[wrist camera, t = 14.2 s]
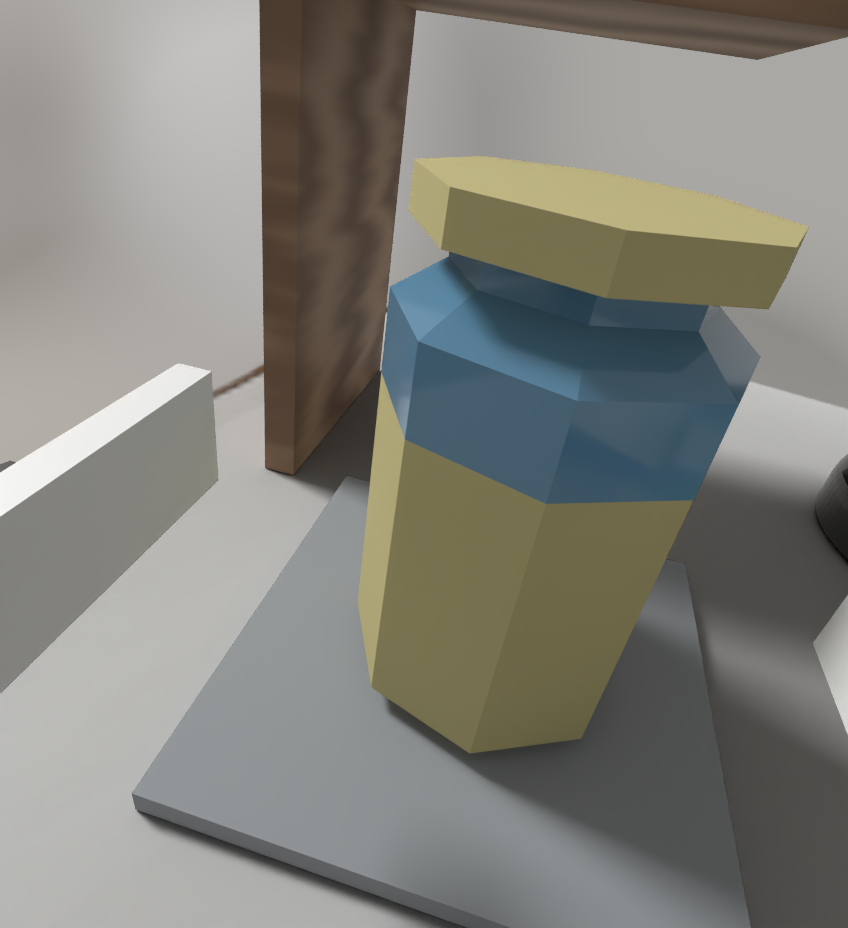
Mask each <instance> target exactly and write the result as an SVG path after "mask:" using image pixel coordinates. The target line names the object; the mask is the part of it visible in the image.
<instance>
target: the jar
mask: <svg viewBox="0 0 848 928" xmlns="http://www.w3.org/2000/svg"><path fill="white" fill-rule="evenodd" d="M409 212H410V213H411V215H412V216H413V217H414V218H415V219H416V220H417V222H418V223H419V224H420V225H421V226H422V227H423V229H424V230H425V231H426V232H427V233H428V235H429V236H430V237H431V238H432V239H433V240H434V241H435V243H436V244H437V245H438V246H439V247H440V249H443V250H445V251H449V257H447V258H445V259H443V260H441V261H439V262H437V263H435V264H433V265H431V266H430V267H427V268H426V269H423V270H422V271H420V272H418V273H416V274H414V275H412V276H410V277H408V278H406V279H404V280H402V281H400V282H398V283H396V284H394V285H392V286H391V287H390V294H389V304H388V313H387V323H386V333H385V342H384V352H383V362H382V371H381V381H380V391H379V400H378V410H377V420H376V429H375V439H374V449H373V458H372V468H371V478H370V487H369V497H368V507H367V516H366V526H365V536H364V545H363V555H362V565H361V574H360V584H359V594H358V608H359V614H360V621H361V627H362V633H363V639H364V646H365V652H366V658H367V664H368V670H369V677H370V683H371V688H373V689H374V690H376V691H377V692H379V693H380V694H382V695H383V696H385V697H386V698H388V699H389V700H391V701H392V702H394V703H395V704H397V705H398V706H400V707H401V708H403V709H404V710H406V711H407V712H409V713H410V714H412V715H413V716H415V717H416V718H418V719H419V720H421V721H422V722H424V723H425V724H427V725H428V726H429V727H431V728H432V729H434V730H435V731H437V732H438V733H440V734H441V735H443V736H444V737H446V738H447V739H449V740H450V741H452V742H453V743H455V744H456V745H458V746H459V747H461V748H462V749H464V750H465V751H467V752H468V753H477V752H485V751H492V750H500V749H508V748H515V747H523V746H531V745H538V744H546V743H553V742H561V741H569V740H576V739H581V738H582V736H583V734H584V732H585V730H586V728H587V726H588V723H589V721H590V719H591V717H592V715H593V713H594V711H595V709H596V706H597V704H598V702H599V700H600V698H601V696H602V694H603V692H604V689H605V687H606V685H607V683H608V681H609V679H610V677H611V675H612V672H613V670H614V668H615V666H616V664H617V662H618V660H619V658H620V656H621V653H622V651H623V649H624V647H625V645H626V643H627V641H628V639H629V636H630V634H631V632H632V630H633V628H634V626H635V624H636V622H637V619H638V617H639V615H640V613H641V611H642V609H643V607H644V605H645V602H646V600H647V598H648V596H649V594H650V592H651V590H652V588H653V585H654V583H655V581H656V579H657V577H658V575H659V573H660V571H661V569H662V566H663V564H664V562H665V560H666V558H667V556H668V554H669V552H670V549H671V547H672V545H673V543H674V541H675V539H676V537H677V535H678V532H679V530H680V528H681V526H682V524H683V522H684V520H685V518H686V515H687V513H688V511H689V509H690V507H691V505H692V503H693V501H694V498H695V496H696V494H697V492H698V490H699V488H700V486H701V484H702V481H703V479H704V477H705V475H706V473H707V471H708V469H709V467H710V465H711V462H712V460H713V458H714V456H715V454H716V452H717V450H718V448H719V445H720V443H721V441H722V439H723V437H724V435H725V433H726V431H727V428H728V426H729V424H730V422H731V420H732V418H733V416H734V414H735V411H736V409H737V407H738V405H739V403H740V401H741V399H742V396H743V394H744V392H745V390H746V388H747V386H748V383H749V381H750V379H751V377H752V375H753V373H754V370H755V368H756V366H757V364H758V362H759V359H760V356H759V354H758V353H757V352H756V351H755V349H754V348H753V347H752V346H751V344H750V343H749V342H748V341H747V339H746V338H745V337H744V336H743V335H742V333H741V332H740V331H739V330H738V328H737V327H736V326H735V325H734V324H733V322H732V321H731V320H730V319H729V317H728V316H727V315H726V313H725V312H724V311H723V310H722V309H721V307H720V306H727V307H742V308H756V309H769V308H770V306H771V304H772V302H773V300H774V299H775V297H776V295H777V293H778V291H779V289H780V287H781V286H782V284H783V282H784V280H785V278H786V276H787V274H788V272H789V270H790V267H791V265H792V263H793V261H794V259H795V257H796V254H797V252H798V250H799V248H800V246H801V243H802V241H803V239H804V237H805V235H806V233H807V230H808V228H809V227H808V226H804V225H802V224H799V223H796V222H793V221H790V220H787V219H784V218H781V217H778V216H775V215H772V214H768V213H766V212H763V211H760V210H757V209H754V208H751V207H748V206H745V205H742V204H739V203H736V202H733V201H730V200H727V199H724V198H721V197H718V196H714V195H710V194H705V193H700V192H695V191H690V190H685V189H681V188H676V187H671V186H667V185H662V184H657V183H652V182H648V181H643V180H638V179H633V178H628V177H624V176H619V175H614V174H610V173H605V172H600V171H595V170H588V169H580V168H572V167H564V166H556V165H548V164H540V163H532V162H525V161H517V160H509V159H501V158H493V157H485V156H475V157H453V158H452V157H451V158H426V159H414V166H413V176H412V184H411V193H410V201H409Z"/></svg>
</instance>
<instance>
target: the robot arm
mask: <svg viewBox="0 0 848 928" xmlns="http://www.w3.org/2000/svg"><path fill="white" fill-rule="evenodd" d="M217 481H218V467H217V451H216V435H215V419H214V403H213V387H212V372H211V371H207V370H203V369H199V368H195V367H191V366H187V365H183V364H179V363H178V364H176V365H175V366H173V367H171V368H170V369H168V370H166V371H165V372H163V373H162V374H160V375H158V376H157V377H155V378H153V379H152V380H150V381H149V382H147V383H145V384H144V385H142V386H141V387H139V388H137V389H135V390H134V391H132V392H130V393H129V394H127V395H126V396H124V397H122V398H121V399H119V400H118V401H116V402H114V403H113V404H111V405H110V406H108V407H106V408H105V409H103V410H101V411H100V412H98V413H96V414H95V415H93V416H92V417H90V418H88V419H87V420H85V421H83V422H82V423H80V424H78V425H77V426H75V427H74V428H72V429H70V430H69V431H67V432H65V433H64V434H62V435H60V436H59V437H57V438H56V439H54V440H52V441H51V442H49V443H48V444H46V445H44V446H42V447H41V448H39V449H38V450H36V451H35V452H33V453H31V454H29V455H28V456H26V457H25V458H23V459H21V460H20V461H18V462H12V461H9V462H5V463H3V464H0V693H1V692H2V691H4V690H5V689H6V688H7V687H8V686H9V685H10V684H11V683H12V682H13V681H14V680H15V679H16V678H17V677H18V676H19V675H20V674H21V673H22V672H23V671H24V670H25V669H26V668H27V667H28V666H29V665H30V664H31V663H32V662H33V661H34V660H35V659H36V658H37V657H38V656H39V655H40V654H41V653H42V652H43V651H44V650H45V649H46V648H47V647H48V646H49V645H50V644H51V643H53V642H54V641H55V640H56V639H57V638H58V637H59V636H60V635H61V634H62V633H63V632H64V631H65V630H66V629H67V628H68V627H69V626H70V625H71V624H72V623H73V622H74V621H75V620H76V619H77V618H78V617H79V616H80V615H81V614H82V613H83V612H84V611H85V610H86V609H87V608H88V607H89V606H90V605H91V604H92V603H93V602H94V601H95V600H96V599H97V598H98V597H99V596H101V595H102V594H103V593H104V592H105V591H106V590H107V589H108V588H109V587H110V586H111V585H112V584H113V583H114V582H115V581H116V580H117V579H118V578H119V577H120V576H121V575H122V574H123V573H124V572H125V571H126V570H127V569H128V568H129V567H130V566H131V565H132V564H133V563H134V562H135V561H136V560H137V559H138V558H139V557H140V556H141V555H142V554H143V553H144V552H145V551H146V550H147V549H148V548H150V547H151V546H152V545H153V544H154V543H155V542H156V541H157V540H158V539H159V538H160V537H161V536H162V535H163V534H164V533H165V532H166V531H167V530H168V529H169V528H170V527H171V526H172V525H173V524H174V523H175V522H176V521H177V520H178V519H179V518H180V517H181V516H182V515H183V514H184V513H185V512H186V511H187V510H188V509H189V508H190V507H191V506H192V505H193V504H194V503H195V502H196V501H198V500H199V499H200V498H201V497H202V496H203V495H204V494H205V493H206V492H207V491H208V490H209V489H210V488H211V487H212V486H213V485H214V484H215V483H216V482H217ZM815 508H816V514H817V517H818V520H819V522H820V524H821V526H822V528H823V530H824V531H825V533H826V534H827V536H828V537H829V539H830V540H831V541H832V543H833V544H834V545H835V546H836V548H837V549H838V550H839V551H840V552H841V553H842V554H843V555H844V556H845V557H846V558H847V559H848V454H847V455H846V456H845V457H844V458H843V459H842V460H841V461H840V462H839V463H838V464H837V465H836V466H835V468H834V469H833V471H832V473H831V474H830V476H829V477H828V479H827V481H826V482H825V484H824V486H823V487H822V489H821V491H820V492H819V494H818V496H817V498H816V504H815ZM813 645H814V648H815V651H816V653H817V656H818V658H819V661H820V664H821V666H822V669H823V671H824V674H825V677H826V679H827V682H828V685H829V687H830V690H831V692H832V695H833V698H834V700H835V703H836V705H837V708H838V711H839V713H840V716H841V718H842V721H843V724H844V726H845V729H846V732H847V734H848V595H847V596H846V598H845V599H844V601H843V602H842V603H841V605H840V606H839V608H838V609H837V610H836V612H835V613H834V614H833V616H832V617H831V619H830V620H829V621H828V623H827V624H826V625H825V627H824V628H823V630H822V631H821V632H820V634H819V635H818V637H817V638H816V639H815V641H814V642H813Z"/></svg>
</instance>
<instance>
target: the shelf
mask: <svg viewBox="0 0 848 928" xmlns="http://www.w3.org/2000/svg"><path fill="white" fill-rule="evenodd" d="M259 1H260V77H261V78H260V81H261V155H262V156H261V157H262V158H261V160H262V236H263V238H262V240H263V317H264V318H263V319H264V321H263V322H264V402H265V468H268V469H271V470H275V471H279V472H283V473H287V474H290V475H294V474H295V473H296V471H297V470H298V469H299V468H300V467H301V465H302V464H303V463H304V462H305V460H306V459H307V458H308V457H309V456H310V454H311V453H312V452H313V451H314V449H315V448H316V447H317V446H318V445H319V443H320V442H321V441H322V440H323V438H324V437H325V436H326V435H327V434H328V432H329V431H330V430H331V429H332V427H333V426H334V425H335V424H336V423H337V421H338V420H339V419H340V418H341V416H342V415H343V414H344V413H345V412H346V410H347V409H348V408H349V407H350V405H351V404H352V403H353V402H354V401H355V399H356V398H357V397H358V396H359V395H360V393H361V392H362V391H363V390H364V388H365V387H366V386H367V385H368V384H369V382H370V381H371V380H372V379H373V377H374V376H375V375H376V374H377V373H378V371H379V370H380V361H381V352H382V342H383V332H384V322H385V312H386V302H387V292H388V282H389V272H390V263H391V252H392V243H393V233H394V223H395V213H396V203H397V193H398V184H399V174H400V164H401V154H402V144H403V134H404V124H405V115H406V104H407V94H408V83H409V75H410V65H411V55H412V45H413V36H414V26H415V15H416V10H420V11H426V12H433V13H440V14H447V15H454V16H461V17H467V18H475V19H481V20H488V21H495V22H502V23H509V24H515V25H523V26H529V27H536V28H544V29H550V30H557V31H564V32H570V33H577V34H585V35H591V36H598V37H605V38H612V39H618V40H625V41H633V42H639V43H646V44H653V45H660V46H667V47H673V48H681V49H687V50H694V51H701V52H709V53H715V54H721V55H729V56H735V57H742V58H749V59H756V60H758V59H762V58H766V57H770V56H774V55H778V54H782V53H786V52H790V51H794V50H798V49H802V48H806V47H810V46H814V45H818V44H822V43H825V42H829V41H833V40H838V39H842V38H846V37H848V0H259Z"/></svg>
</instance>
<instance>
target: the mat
mask: <svg viewBox="0 0 848 928" xmlns="http://www.w3.org/2000/svg"><path fill="white" fill-rule="evenodd" d="M369 487H370V482H369V481H365V480H361V479H357V478H353V477H349V476H346V477H345V479H344V480H343V482H342V483H341V485H340V486H339V488H338V489H337V491H336V492H335V494H334V495H333V497H332V498H331V500H330V501H329V503H328V504H327V505H326V507H325V508H324V510H323V511H322V513H321V514H320V516H319V517H318V519H317V520H316V522H315V523H314V525H313V526H312V528H311V529H310V531H309V532H308V534H307V535H306V537H305V538H304V539H303V541H302V542H301V544H300V545H299V547H298V548H297V550H296V551H295V553H294V554H293V556H292V557H291V559H290V560H289V562H288V563H287V565H286V566H285V568H284V569H283V571H282V572H281V573H280V575H279V576H278V578H277V579H276V581H275V582H274V584H273V585H272V587H271V588H270V590H269V591H268V593H267V594H266V596H265V597H264V599H263V600H262V602H261V603H260V605H259V606H258V607H257V609H256V610H255V612H254V613H253V615H252V616H251V618H250V619H249V621H248V622H247V624H246V625H245V627H244V628H243V630H242V631H241V633H240V634H239V636H238V637H237V639H236V640H235V641H234V643H233V644H232V646H231V647H230V649H229V650H228V652H227V653H226V655H225V656H224V658H223V659H222V661H221V662H220V664H219V665H218V667H217V668H216V670H215V671H214V673H213V674H212V675H211V677H210V678H209V680H208V681H207V683H206V684H205V686H204V687H203V689H202V690H201V692H200V693H199V695H198V696H197V698H196V699H195V701H194V702H193V704H192V705H191V707H190V708H189V709H188V711H187V712H186V714H185V715H184V717H183V718H182V720H181V721H180V723H179V724H178V726H177V727H176V729H175V730H174V732H173V733H172V735H171V736H170V738H169V739H168V741H167V742H166V743H165V745H164V746H163V748H162V749H161V751H160V752H159V754H158V755H157V757H156V758H155V760H154V761H153V763H152V764H151V766H150V767H149V769H148V770H147V772H146V773H145V775H144V776H143V777H142V779H141V780H140V782H139V783H138V785H137V786H136V788H135V789H134V791H133V792H132V797H133V801H134V805H135V809H136V810H139V811H142V812H145V813H147V814H150V815H153V816H156V817H159V818H161V819H164V820H167V821H170V822H172V823H175V824H178V825H181V826H184V827H186V828H189V829H192V830H195V831H198V832H200V833H203V834H206V835H209V836H212V837H214V838H217V839H220V840H223V841H226V842H228V843H231V844H234V845H237V846H240V847H242V848H245V849H248V850H251V851H253V852H256V853H259V854H262V855H265V856H267V857H270V858H273V859H276V860H279V861H281V862H284V863H287V864H290V865H293V866H295V867H298V868H301V869H304V870H307V871H309V872H312V873H315V874H318V875H321V876H323V877H326V878H329V879H332V880H335V881H337V882H340V883H343V884H346V885H348V886H351V887H354V888H357V889H360V890H362V891H365V892H368V893H371V894H374V895H376V896H379V897H382V898H385V899H388V900H390V901H393V902H396V903H399V904H402V905H404V906H407V907H410V908H413V909H416V910H418V911H421V912H424V913H427V914H429V915H432V916H435V917H438V918H441V919H443V920H446V921H449V922H452V923H455V924H457V925H460V926H463V927H466V928H751V926H750V920H749V915H748V909H747V904H746V898H745V892H744V887H743V881H742V876H741V870H740V865H739V859H738V854H737V848H736V843H735V837H734V832H733V826H732V820H731V815H730V809H729V804H728V798H727V793H726V787H725V782H724V776H723V771H722V765H721V760H720V754H719V748H718V743H717V737H716V732H715V726H714V721H713V715H712V710H711V704H710V699H709V693H708V688H707V682H706V676H705V671H704V665H703V660H702V654H701V649H700V643H699V638H698V632H697V627H696V621H695V616H694V610H693V604H692V599H691V593H690V588H689V582H688V577H687V571H686V566H685V564H684V563H680V562H676V561H673V560H669V559H666V560H665V562H664V564H663V566H662V569H661V571H660V573H659V575H658V577H657V579H656V581H655V583H654V585H653V588H652V590H651V592H650V594H649V596H648V598H647V600H646V602H645V605H644V607H643V609H642V611H641V613H640V615H639V617H638V619H637V622H636V624H635V626H634V628H633V630H632V632H631V634H630V636H629V639H628V641H627V643H626V645H625V647H624V649H623V651H622V653H621V656H620V658H619V660H618V662H617V664H616V666H615V668H614V670H613V672H612V675H611V677H610V679H609V681H608V683H607V685H606V687H605V689H604V692H603V694H602V696H601V698H600V700H599V702H598V704H597V706H596V709H595V711H594V713H593V715H592V717H591V719H590V721H589V723H588V726H587V728H586V730H585V732H584V734H583V736H582V738H581V739H576V740H569V741H561V742H553V743H546V744H538V745H531V746H523V747H515V748H508V749H500V750H492V751H485V752H477V753H468V752H467V751H465V750H464V749H462V748H461V747H459V746H458V745H456V744H455V743H453V742H452V741H450V740H449V739H447V738H446V737H444V736H443V735H441V734H440V733H438V732H437V731H435V730H434V729H432V728H431V727H429V726H428V725H427V724H425V723H424V722H422V721H421V720H419V719H418V718H416V717H415V716H413V715H412V714H410V713H409V712H407V711H406V710H404V709H403V708H401V707H400V706H398V705H397V704H395V703H394V702H392V701H391V700H389V699H388V698H386V697H385V696H383V695H382V694H380V693H379V692H377V691H376V690H374V689H373V688H371V683H370V677H369V670H368V664H367V658H366V652H365V646H364V639H363V633H362V627H361V621H360V614H359V608H358V594H359V584H360V574H361V565H362V555H363V545H364V536H365V526H366V516H367V507H368V497H369Z"/></svg>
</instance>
